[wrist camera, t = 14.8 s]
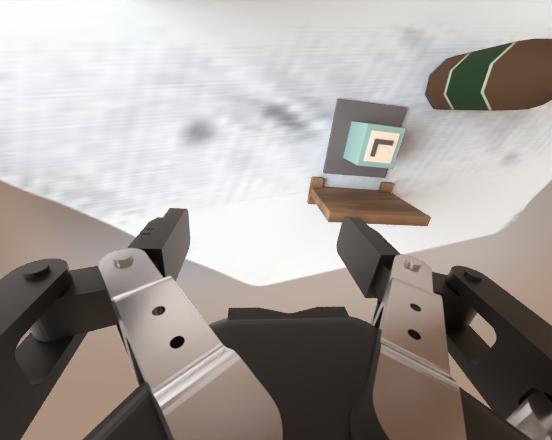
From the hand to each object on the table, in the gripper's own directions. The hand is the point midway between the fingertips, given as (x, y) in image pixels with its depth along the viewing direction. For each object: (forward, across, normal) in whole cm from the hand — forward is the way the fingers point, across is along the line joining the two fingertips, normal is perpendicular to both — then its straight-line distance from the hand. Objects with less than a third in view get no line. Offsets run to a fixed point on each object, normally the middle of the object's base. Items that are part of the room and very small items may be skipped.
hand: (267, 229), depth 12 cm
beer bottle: (+30, -31, -12) cm, 45 cm away
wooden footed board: (+30, -19, +8) cm, 36 cm away
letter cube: (+30, -19, -2) cm, 35 cm away
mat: (+30, -19, -2) cm, 36 cm away
